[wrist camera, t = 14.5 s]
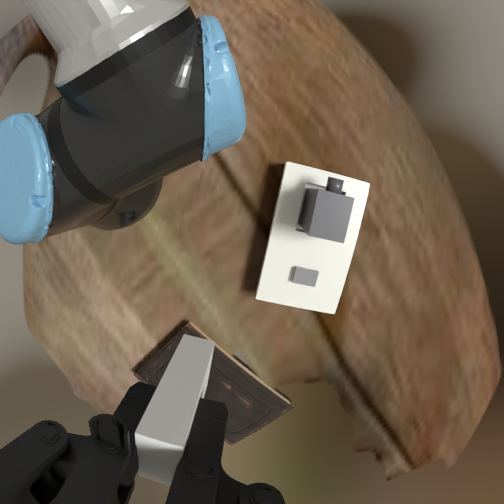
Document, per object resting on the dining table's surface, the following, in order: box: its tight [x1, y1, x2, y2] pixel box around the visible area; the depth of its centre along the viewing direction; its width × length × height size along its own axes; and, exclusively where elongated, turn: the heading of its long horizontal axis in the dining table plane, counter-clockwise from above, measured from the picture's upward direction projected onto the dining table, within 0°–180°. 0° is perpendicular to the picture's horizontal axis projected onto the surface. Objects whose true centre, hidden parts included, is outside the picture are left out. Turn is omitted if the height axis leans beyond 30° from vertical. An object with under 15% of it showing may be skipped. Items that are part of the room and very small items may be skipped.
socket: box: [256, 162, 370, 314], centre depth 39 cm, size 11×18×4 cm, turn 168°
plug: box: [299, 177, 354, 243], centre depth 35 cm, size 4×7×9 cm, turn 169°
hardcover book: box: [134, 321, 293, 445], centre depth 47 cm, size 16×23×2 cm
